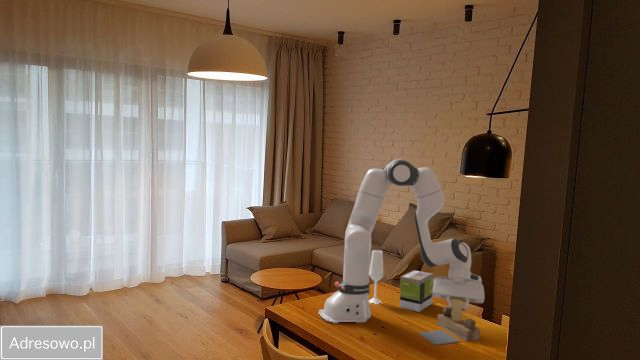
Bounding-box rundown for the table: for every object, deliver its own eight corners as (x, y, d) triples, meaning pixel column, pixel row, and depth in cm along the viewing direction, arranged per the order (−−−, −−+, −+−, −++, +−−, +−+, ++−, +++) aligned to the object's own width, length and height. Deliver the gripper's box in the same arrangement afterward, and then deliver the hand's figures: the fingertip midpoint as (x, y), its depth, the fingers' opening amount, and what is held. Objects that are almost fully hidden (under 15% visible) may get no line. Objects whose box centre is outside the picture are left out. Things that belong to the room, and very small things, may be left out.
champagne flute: (364, 300, 217) (367, 250, 215) (376, 298, 220) (378, 249, 219) (373, 305, 211) (375, 253, 210) (385, 303, 215) (387, 252, 213)
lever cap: (461, 322, 182) (462, 301, 181) (451, 321, 183) (452, 300, 182) (461, 319, 185) (462, 298, 185) (451, 318, 186) (453, 297, 186)
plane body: (465, 341, 174) (466, 323, 173) (436, 323, 191) (437, 307, 190) (479, 339, 176) (480, 321, 176) (450, 322, 193) (450, 305, 193)
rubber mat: (435, 345, 169) (435, 344, 169) (418, 333, 179) (418, 332, 179) (459, 341, 173) (459, 340, 173) (441, 330, 183) (441, 329, 183)
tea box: (412, 299, 221) (414, 269, 221) (432, 304, 216) (434, 273, 215) (398, 307, 209) (400, 275, 208) (419, 312, 203) (421, 279, 203)
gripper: (433, 271, 193) (430, 301, 184) (485, 277, 186) (484, 308, 178) (433, 279, 197) (430, 308, 189) (484, 285, 191) (483, 316, 182)
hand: (457, 309), depth 183 cm, fingers closed on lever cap, 4 cm apart
